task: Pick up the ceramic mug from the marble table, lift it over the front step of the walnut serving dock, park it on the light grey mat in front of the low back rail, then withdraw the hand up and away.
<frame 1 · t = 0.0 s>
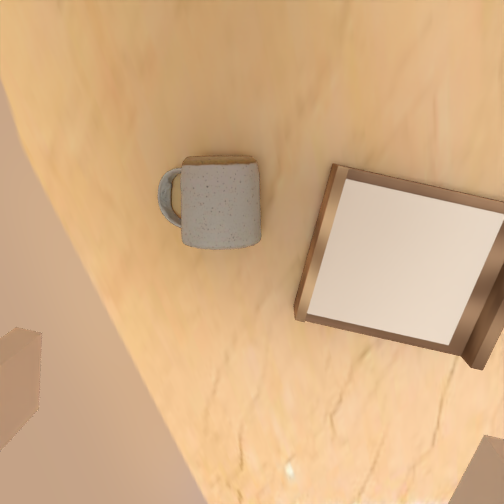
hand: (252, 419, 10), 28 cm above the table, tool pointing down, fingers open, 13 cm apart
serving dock: (399, 259, 37), on the table
ceramic mug: (214, 197, 37), on the table
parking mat: (399, 266, 34), point 3 cm above the table
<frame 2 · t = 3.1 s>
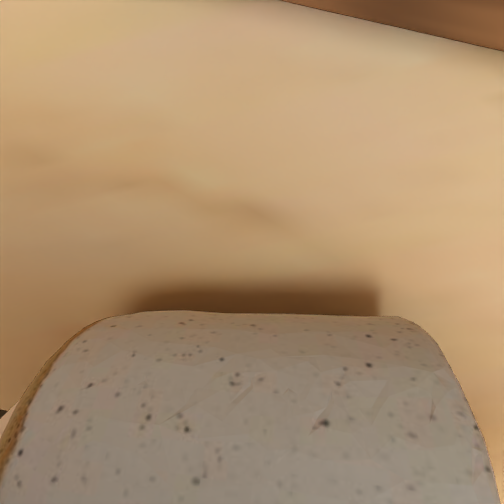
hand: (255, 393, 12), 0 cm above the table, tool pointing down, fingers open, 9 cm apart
ceramic mug: (260, 404, 12), on the table, touching gripper
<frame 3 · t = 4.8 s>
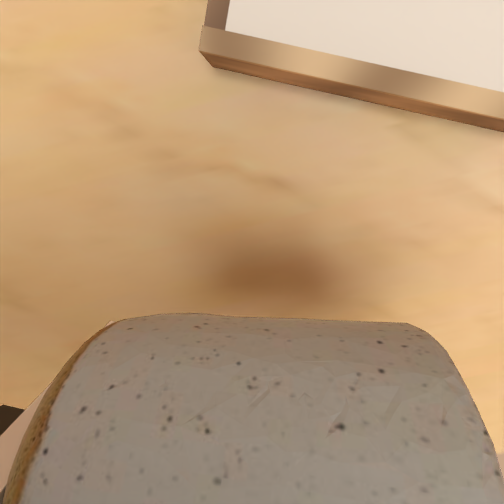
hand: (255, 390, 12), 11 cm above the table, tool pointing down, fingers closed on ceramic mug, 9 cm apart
ceramic mug: (266, 405, 12), point 10 cm above the table, touching gripper
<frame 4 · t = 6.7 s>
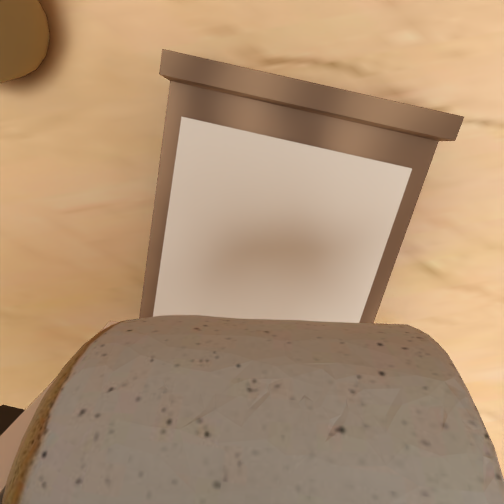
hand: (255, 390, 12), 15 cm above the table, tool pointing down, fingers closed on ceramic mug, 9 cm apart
squeeze bottle: (10, 30, 23), on the table
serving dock: (272, 233, 26), on the table
ceramic mug: (266, 407, 12), point 15 cm above the table, touching gripper
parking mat: (268, 259, 23), point 3 cm above the table
when the fingers open (4 cm above the table, at t = 9.5 s): ceramic mug stays where it is, resting on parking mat.
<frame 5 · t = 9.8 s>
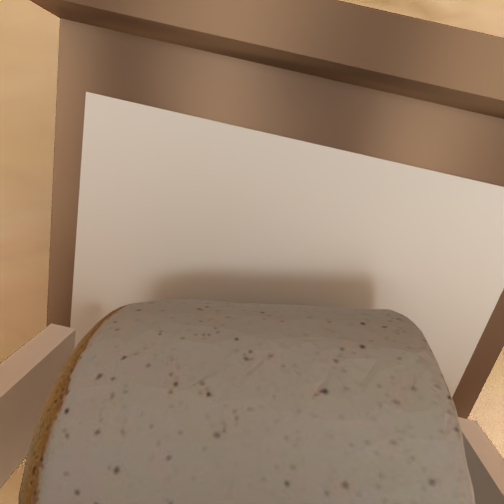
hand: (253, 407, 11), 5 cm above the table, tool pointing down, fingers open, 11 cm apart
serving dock: (268, 296, 15), on the table
ceramic mug: (261, 390, 13), point 3 cm above the table, touching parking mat
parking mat: (260, 355, 13), point 3 cm above the table
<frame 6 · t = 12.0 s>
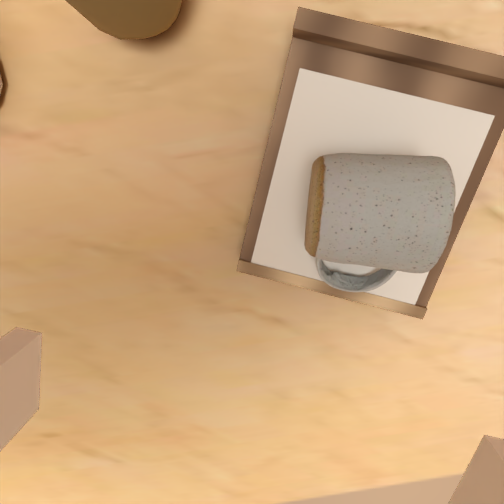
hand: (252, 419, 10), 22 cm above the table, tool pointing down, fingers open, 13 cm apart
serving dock: (358, 179, 30), on the table
ceramic mug: (359, 219, 28), point 3 cm above the table, touching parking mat
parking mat: (361, 195, 27), point 3 cm above the table
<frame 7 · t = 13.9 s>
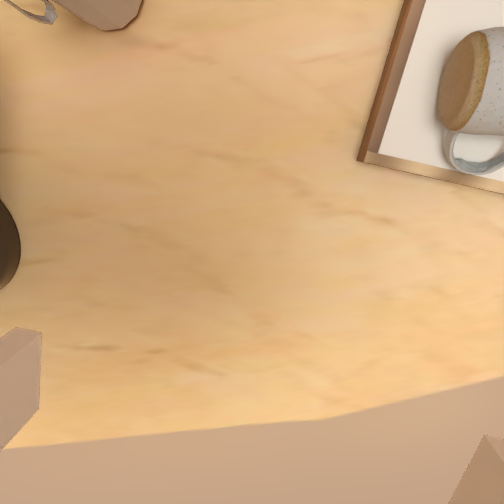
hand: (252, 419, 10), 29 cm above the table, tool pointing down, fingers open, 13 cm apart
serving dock: (471, 76, 33), on the table
ceramic mug: (481, 108, 31), point 3 cm above the table, touching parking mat
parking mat: (486, 82, 30), point 3 cm above the table
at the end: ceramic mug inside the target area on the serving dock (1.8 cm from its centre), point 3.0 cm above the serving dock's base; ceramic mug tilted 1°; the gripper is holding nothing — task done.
